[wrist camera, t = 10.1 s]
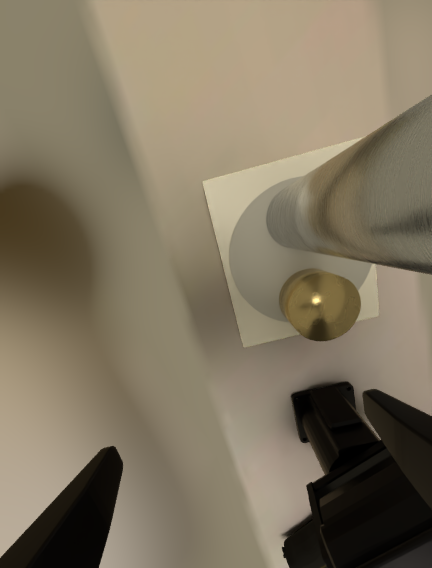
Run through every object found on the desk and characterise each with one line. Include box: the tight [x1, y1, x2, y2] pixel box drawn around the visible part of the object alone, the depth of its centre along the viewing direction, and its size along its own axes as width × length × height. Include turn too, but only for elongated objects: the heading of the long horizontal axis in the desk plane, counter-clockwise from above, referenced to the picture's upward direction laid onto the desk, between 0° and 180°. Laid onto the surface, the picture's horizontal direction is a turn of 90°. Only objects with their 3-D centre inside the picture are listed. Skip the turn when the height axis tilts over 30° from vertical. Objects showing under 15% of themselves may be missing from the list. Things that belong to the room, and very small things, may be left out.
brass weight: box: [279, 268, 361, 341], centre depth 15 cm, size 5×5×2 cm
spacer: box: [266, 95, 432, 275], centre depth 9 cm, size 4×4×13 cm
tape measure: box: [282, 520, 326, 568], centre depth 26 cm, size 7×7×4 cm
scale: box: [202, 136, 379, 348], centre depth 17 cm, size 14×13×3 cm
